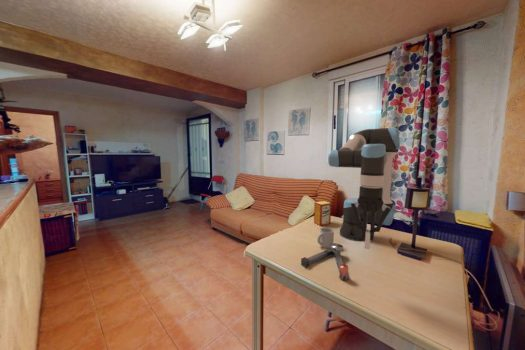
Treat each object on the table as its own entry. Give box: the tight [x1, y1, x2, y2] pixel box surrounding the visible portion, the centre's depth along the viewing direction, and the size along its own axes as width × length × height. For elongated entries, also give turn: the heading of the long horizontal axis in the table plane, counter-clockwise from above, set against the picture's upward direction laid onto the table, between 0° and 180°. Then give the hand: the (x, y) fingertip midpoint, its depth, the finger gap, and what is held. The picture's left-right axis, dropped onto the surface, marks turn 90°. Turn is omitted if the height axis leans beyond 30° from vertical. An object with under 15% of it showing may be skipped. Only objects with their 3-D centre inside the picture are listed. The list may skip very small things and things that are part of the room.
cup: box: [316, 227, 335, 249], centre depth 109 cm, size 7×10×9 cm
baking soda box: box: [313, 200, 332, 227], centre depth 142 cm, size 10×6×16 cm
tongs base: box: [300, 248, 342, 269], centre depth 95 cm, size 22×6×4 cm, turn 124°
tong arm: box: [331, 242, 349, 281], centre depth 91 cm, size 22×6×5 cm, turn 169°
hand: (367, 247), depth 75 cm, fingers closed
